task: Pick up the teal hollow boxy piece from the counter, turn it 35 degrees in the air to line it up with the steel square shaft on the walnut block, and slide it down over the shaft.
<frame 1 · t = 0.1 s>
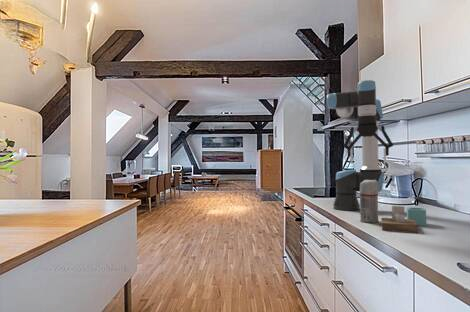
hand: (368, 163, 139), 28 cm above the worktop, fingers open, 13 cm apart
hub: (398, 228, 135), on the worktop
teal hollow boxy piece: (416, 223, 143), on the worktop
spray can: (369, 221, 150), on the worktop
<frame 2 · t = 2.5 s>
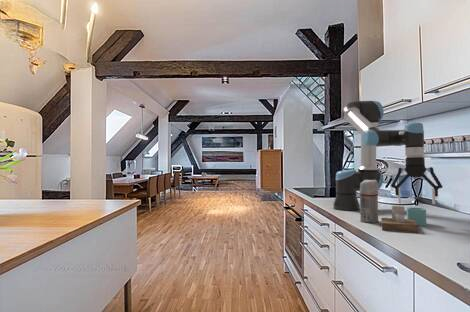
hand: (416, 203, 143), 9 cm above the worktop, fingers open, 13 cm apart
nothing on the worktop moved.
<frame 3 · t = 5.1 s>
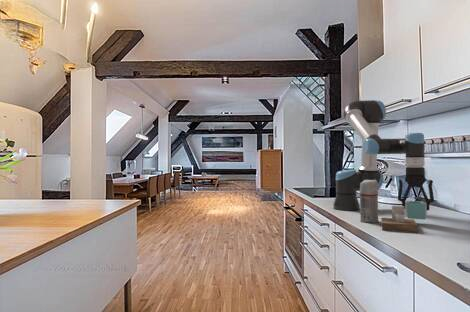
hand: (415, 216, 143), 3 cm above the worktop, fingers closed on teal hollow boxy piece, 7 cm apart
teal hollow boxy piece: (415, 217, 144), point 3 cm above the worktop, touching gripper
everything else where it was.
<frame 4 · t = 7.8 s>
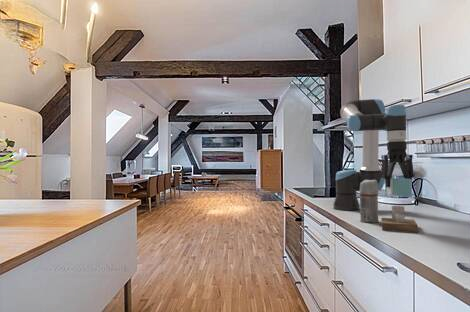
hand: (397, 194, 135), 15 cm above the worktop, fingers closed on teal hollow boxy piece, 7 cm apart
teal hollow boxy piece: (398, 195, 135), point 14 cm above the worktop, touching gripper
everything else where it was.
when the fingers open (5 cm above the worktop, at t = 10.3 s): teal hollow boxy piece drops 1 cm, resting on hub.
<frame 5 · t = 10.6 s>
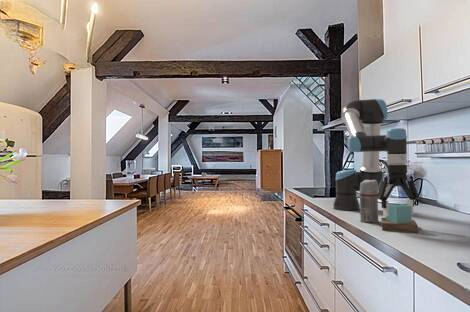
hand: (398, 215, 135), 6 cm above the worktop, fingers open, 11 cm apart
teal hollow boxy piece: (398, 221, 135), point 3 cm above the worktop, touching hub
everything else where it was.
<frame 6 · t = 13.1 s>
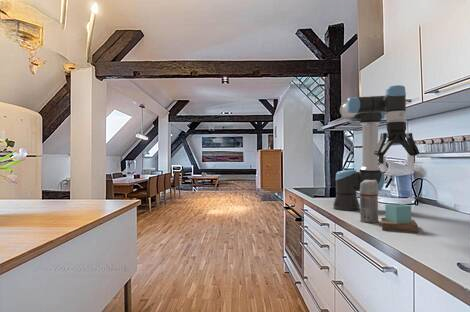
hand: (397, 171, 135), 25 cm above the worktop, fingers open, 13 cm apart
nothing on the worktop moved.
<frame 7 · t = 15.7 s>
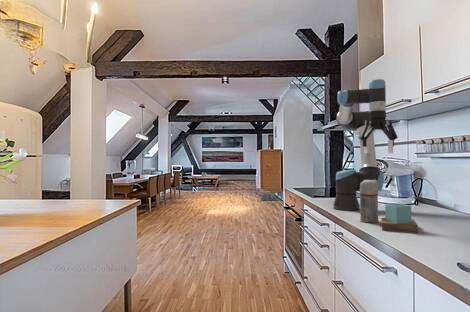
hand: (378, 153, 157), 33 cm above the worktop, fingers open, 13 cm apart
nothing on the worktop moved.
at the end: teal hollow boxy piece 0.0 cm off-centre on the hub, point 3.0 cm above the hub's base; teal hollow boxy piece tilted 0°; the gripper is holding nothing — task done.
